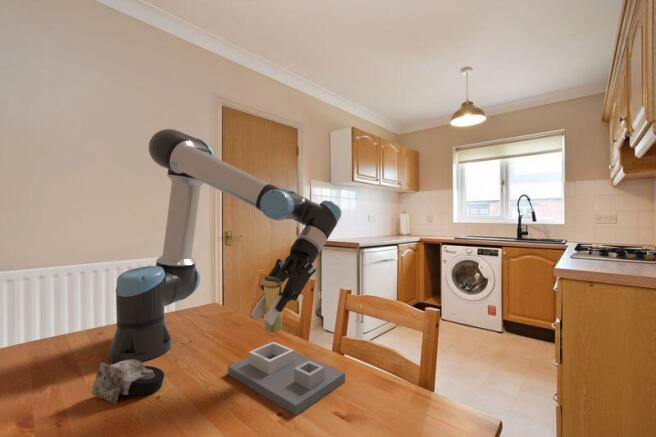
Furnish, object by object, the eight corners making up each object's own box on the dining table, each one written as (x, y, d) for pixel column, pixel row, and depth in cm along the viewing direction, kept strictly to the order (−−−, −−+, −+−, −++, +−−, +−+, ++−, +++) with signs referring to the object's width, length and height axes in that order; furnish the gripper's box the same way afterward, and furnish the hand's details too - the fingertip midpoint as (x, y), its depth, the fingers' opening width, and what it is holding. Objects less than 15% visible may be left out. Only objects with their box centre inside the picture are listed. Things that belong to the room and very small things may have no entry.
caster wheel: (166, 393, 71) (131, 414, 61) (128, 377, 74) (88, 394, 64) (175, 364, 72) (141, 380, 62) (136, 349, 74) (98, 362, 65)
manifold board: (227, 374, 75) (227, 353, 75) (277, 351, 87) (277, 334, 87) (295, 415, 59) (295, 390, 59) (345, 381, 72) (345, 360, 72)
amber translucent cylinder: (258, 328, 76) (258, 277, 76) (273, 323, 80) (273, 274, 80) (272, 334, 73) (272, 280, 73) (287, 328, 76) (287, 277, 76)
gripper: (338, 256, 82) (293, 336, 70) (293, 252, 93) (248, 319, 81) (325, 238, 78) (275, 319, 66) (280, 235, 89) (230, 304, 77)
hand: (260, 319), depth 73 cm, fingers closed on amber translucent cylinder, 4 cm apart
